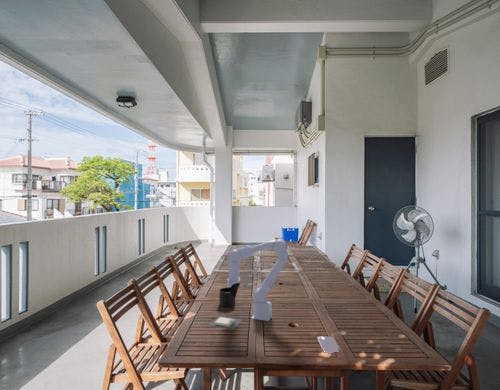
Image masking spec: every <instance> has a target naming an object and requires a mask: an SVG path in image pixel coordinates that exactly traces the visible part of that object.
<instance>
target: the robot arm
mask: <svg viewBox="0 0 500 390" xmlns="http://www.w3.org/2000/svg"><path fill="white" fill-rule="evenodd" d="M264 250H270V251H273V250H274V252H275V253H276V256H277V259H276V261H275V263H274V265H273V266H272V267H271V269H270V271H269V273H268V274H267V276H266V277H265V279H264V280H263V281H262V283H261V284H260V286H257V287H256V289H255V292H254V295H253V315H252V317H251V319H253V320H260V321H266V322H269V321H270V320H271V318H272V317H273V305H272V302H271V301H268V298H267V295H268V292H269V291H270V289H271V287H272V285H273V284H274V282H275V281H276V279H277V278H278V276H279V275H280V273H281V272H282V270H283V268H284V267H285V265H286V264H287V262H288V257H289V256H288V244H287V243H286V241H285V239H283V238H277V239H276V238H275V239H271V240H268V241H265V242H263V243H259V244H256V245H253V246H251V245H250V244H249V245H248V244H245V245H244V246H243V247H239V248H238V247H237V248H234V249H232V250H231V251H230V252H229V254H228V262H229V263H228V278H227V279H226V282H227V283H226V288H229V289H230V293H231V297H235V298H236V297H237V295H238V294H237V293H238V290H239V287H240V286H241V284H240V282H241V277H240V272H241V271H240V260H243V259H246V258H249V257H252V256H253V255H254V253H257V252H258V253H259V252H260V251H264Z"/></svg>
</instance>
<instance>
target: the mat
mask: <svg viewBox="0 0 500 390" xmlns="http://www.w3.org/2000/svg"><path fill="white" fill-rule="evenodd" d="M220 317H224V318H230V319H235V322H234V323H233V324H232V325H231V326H230V327H226V326H220V325H215V321H217V320H218V319H219V318H220ZM242 321H243V319H240V318H234V317H230V316H229V317H227V316H221V315H218V316H217V317H216V318H215V319H213V320H212V321H211V322H210V323H209V324H208V326H209V327H216V328H221V329H229V330H235V329H236V328H237V326H239V325H240V323H241V322H242Z"/></svg>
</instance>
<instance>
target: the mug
mask: <svg viewBox="0 0 500 390" xmlns="http://www.w3.org/2000/svg"><path fill="white" fill-rule="evenodd" d="M218 294H219V302H218V304H219V306H220V307H223V308H232V307H235V306H236V297H231V293H230V289H229V287H222V288H220V289H219V293H218Z"/></svg>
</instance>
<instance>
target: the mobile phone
mask: <svg viewBox="0 0 500 390" xmlns="http://www.w3.org/2000/svg"><path fill="white" fill-rule="evenodd" d="M317 341H318V342H319V345H320V347H321V350H322V349H323V350H322V351H324V352H326V353H325V354H335V353H334V352H339V351H338V350H339V349H340V347H339V345H338V344H337V342H336V339H335V337H334V336H327V335H325V336H323V335H322V336H320V335H319V336H317ZM338 348H339V349H338ZM324 352H323V353H324Z"/></svg>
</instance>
